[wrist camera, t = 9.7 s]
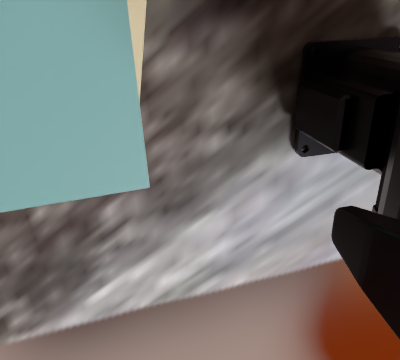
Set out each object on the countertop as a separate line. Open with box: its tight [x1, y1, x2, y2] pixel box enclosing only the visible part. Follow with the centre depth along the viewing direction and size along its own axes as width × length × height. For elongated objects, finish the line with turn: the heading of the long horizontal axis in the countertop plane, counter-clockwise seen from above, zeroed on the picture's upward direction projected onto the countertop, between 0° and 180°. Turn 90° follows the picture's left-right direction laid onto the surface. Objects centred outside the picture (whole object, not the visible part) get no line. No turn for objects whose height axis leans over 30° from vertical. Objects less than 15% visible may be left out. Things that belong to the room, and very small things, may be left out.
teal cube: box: [0, 0, 150, 212], centre depth 12 cm, size 6×6×6 cm
